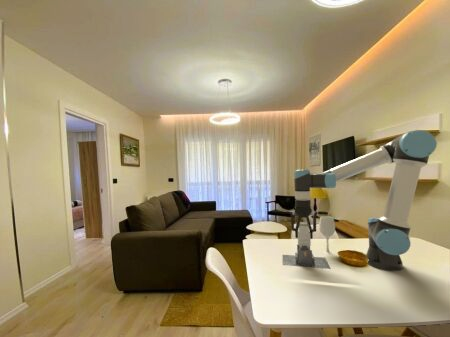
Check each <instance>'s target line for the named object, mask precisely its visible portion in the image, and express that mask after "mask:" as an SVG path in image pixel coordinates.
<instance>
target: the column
mask: <svg viewBox="0 0 450 337" xmlns="http://www.w3.org/2000/svg"><path fill="white" fill-rule="evenodd" d="M298 231H299V237H300V245H299V249H302V246H303V247H308V250H309V232H310V231H309V224H308V223H307V221H306V222H305V221H304V222H303V221H300V224H299V228H298Z"/></svg>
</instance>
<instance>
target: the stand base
mask: <svg viewBox="0 0 450 337" xmlns="http://www.w3.org/2000/svg"><path fill="white" fill-rule="evenodd" d="M296 246H297V248H296V249H297V250H296V252H295V253H294V255H292V254H282V266H288V267H289V266H290V267H303V268H314V269H328V270H331V267H330V265H329V263H328V261H327V258H326V257H322V256H321V257H319V256H314V254H313V250H312V249H311V246H309V250H308V247H303V246H302V249H299V245H298V243H297V245H296Z"/></svg>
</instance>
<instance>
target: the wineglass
mask: <svg viewBox="0 0 450 337" xmlns="http://www.w3.org/2000/svg"><path fill="white" fill-rule="evenodd" d="M318 225H319V226H318V227H319V232H320V233H321V234H322V236H324V237H325V239H326V241H325V242H326V250H324V251H323V253H325V254H333V253H332V251H330V247H329V246H330V244H329V238H331V237H332V236H333V235H334V234H335V231H336V224H335V219H334V216H328V215H321V216H320V218H319V223H318Z"/></svg>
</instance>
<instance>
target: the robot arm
mask: <svg viewBox="0 0 450 337" xmlns="http://www.w3.org/2000/svg"><path fill="white" fill-rule="evenodd" d="M437 144H438V143H437V140H436V137H435V136H434V135H433V134H432V133H431V132H429V131H426V130H423V129H416V130H410V131H407V132H405V133H404V134H402V135H399V136H397V137H395V138H394V139H393V140H391V141H389V142H388V143H385V144H382V145H380V146H379V149H376V150H374V151H371V152H369V153H366V154H365V155H362V156H359V157H357V158H355V159H352V160H349V161H347V162H345V163H342V164H340V165H337V166H335V167H333V168H330V169H327V170H326V171H323V172H316V173H315V172H310V170H309V169H296V170H295V171H294V178H293V179H294V199H295V200H294V202H295V204H294V210H289V214H290V222H291V224H290V225H291V226H290V228H291V231H293V232H295V239H297V244H298V245H300V237H299V224H300V222H301V219H302V218H303V219H304V218H305V219H306V222H307V223H308V224H309V246H310V247H311V244H312V243H311V240H313V237H314V236H313V235H314V234H313V233H315V232H317V215H318V212H317V211H314V210H312V206H311V189H334V188H336V187H337V182H340V181H343V180H345V179H348V178H351V177H353V176H355V175H358V174H361V173H364V172H366V171H368V170H372V169H374V168H377V167H379V166H382V165H385V164H393V163H395V167H394V170H393V175H392V178H391V183H390V188H389V191H388V195H387V199H386V203H385V208H384V211H383V215H381V216H380V217H369V218H368V220H367V228H368V248H367V252H366V254H365V257H366V258H368V259H369V261H368V263H367V264H368V265H370V266H372V267H374V268H377V269H381V270H384V271H385V270H387V271H401V270H402V269H404V265H403V264H404V263H403V260H402V258H401V255H403V254H405V253H407V252H408V251H409V250H410V248H411V240H410V239H411V238H410V237H409V235H410V232H411V226H410V224H409V223H408V219H409V217H410V212H411V208H412V206H413V201H414V197H415V193H416V189H417V186H418V181H419V177H420V173H421V171H422V168H423V167H425V166H427V165H428V163H429V158H430V156H431V155H432V154H433V153H434V152H435V151H436V148H437ZM295 215H297V220H296V222H295V219H294V218H295ZM310 215H312V224H311V221H310V218H309V217H310ZM295 223H296V224H295ZM366 258H365V259H366Z"/></svg>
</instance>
